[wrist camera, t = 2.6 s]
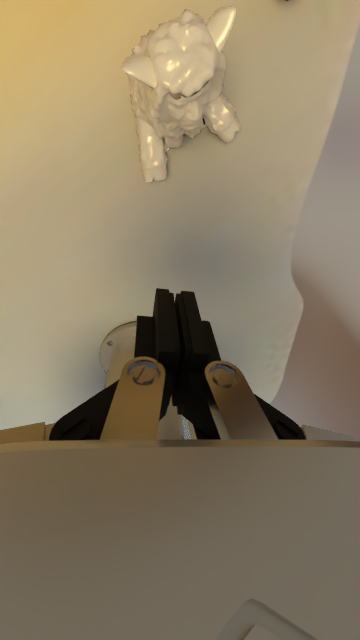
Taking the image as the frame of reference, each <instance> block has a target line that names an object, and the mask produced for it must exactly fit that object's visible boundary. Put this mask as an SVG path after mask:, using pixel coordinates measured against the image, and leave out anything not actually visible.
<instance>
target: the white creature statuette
mask: <svg viewBox="0 0 360 640" xmlns="http://www.w3.org/2000/svg"><path fill="white" fill-rule="evenodd" d="M235 15H236V8H234V7H232V6H230V7H221V8H220V9H218V10H216V11H215V12H214V13H213V15H212V16H211V17H210V19H209V21H208V22H207V24H206V25H205V23H204V21H203V19H202V18H201V17H200V16H199V15H198V14H195V13H193V12H192V11H191V10H186V9H185V10H184V12H183V13H182V14H181V16H180V17H179V18H177V19H174V20H171V21H169V22H166V23H163V24H159V26H158V28H157V29H156V31H153V30H150V31H149V32H148V35H147V36H145V35H144V36H141V39H140V44H139V45H138V46H135V48H134V49H132V53H133V55H132V56H130V57H128V58H126V59H125V61H124V62H123V63H122V66H121V69H122V70H123V71H124V72H125V73H126V74H127V75H129V76H128V77H129V81H130V97H131V104H132V109H133V112H134V113H135V118H136V132H137V135H138V137H139V141H140V145H139V151H140V154H139V156H140V162H141V166H142V171H143V176H144V180H145V182H152V180H153V179H154V180H155V181H160V180H164V179H166V177H167V170H166V163H167V161H168V158H167V157H166V155H165V154H166V152H167V151H168V150H169V149H170V148H179V147H180V146H181V144H182V142H183V134H185V135H187V136H188V137H190V138H193V137H194V136H195V135H197V134H199V133H200V131H201V130H202V129H203V128H204V127H206V126H207V127H208V128H210V131H211V132H212V133H213V134H217V135H218V136H219V137H220V138H221V140H223V141H224V142H226V143H228V142H230V141H231V140H232V139H233V138H234V136H235V132H238V131H239V129H240V124H239V121H238V119H237V118H236V116H235V113H236V109H235V107H234V106H233V105H232V104H231V103H229V102H228V100H227V99H226V98H225V97H224V96H223V95H222V94H221V92H222V89H223V86H224V75H225V72H226V63H227V59H226V56H225V54H224V53H221V52H220V51H221V50H222V48H223V46H224V44H225V42H226V40H227V38H228V36H229V34H230V32H231V29H232V26H233V24H234V21H235ZM203 118H204V120H205V124H204V125H203V120H202V119H203ZM163 138H164V140H163Z"/></svg>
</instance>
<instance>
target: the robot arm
mask: <svg viewBox="0 0 360 640" xmlns="http://www.w3.org/2000/svg"><path fill="white" fill-rule="evenodd" d="M99 358H100V363H101V366H102V367H103V369H104V371H105V372H106V373H107V379H106V384H105V389H104V390H102V391H101V392H99V393H98V394H96V395H95V396H93V397H92V398H90V399H89V400H87V401H86V402H84V403H83V404H81V405H80V406H78V407H77V408H75V409H74V410H72V411H71V412H69V413H68V414H66V415H65V416H63V417H62V418H61V419H60V420H58V421H57V422H56V423H54V424H48V425H45V422H42V423H36V424H31V425H26V426H20V427H15V428H10V429H4V430H0V640H360V439H358V438H355V437H353V436H349V435H344V434H340V433H336V432H332V431H328V430H323V429H319V428H315V427H311V426H306V425H302V427H299V426H298V425H297V424H296V423H295V422H294V421H293V420H291V419H290V418H288V417H287V416H286V415H284V414H283V413H281V412H280V411H278V410H277V409H275V408H274V407H272V406H271V405H270V404H268V403H267V402H265V401H264V400H262V399H261V398H259V397H258V396H256V395H255V394H254V393H253V392H252V390H251V388H250V386H249V385H248V383H247V381H246V379H245V377H244V375H243V374H242V372H241V371H240V370H239V369H238V368H237V367H236V366H235V365H233V364H231V363H229V362H225V361H221V358H220V355H219V352H218V348H217V345H216V342H215V338H214V335H213V331H212V328H211V325H210V322H208V321H201V317H200V314H199V310H198V306H197V302H196V298H195V294H194V292H188V291H181V294H176V298H175V303H174V295H173V293H169V290H168V289H158V288H157V289H156V295H155V302H154V310H153V317H148V316H137V322H134V323H129V324H125V325H123V326H120V327H118V328H116V329H115V330H113V331H112V332H111V333H109V334H108V335H107V336H106V338H105V339H104V341H103V343H102V345H101V348H100V353H99ZM182 415H183V416H184V417H185V418H186V419H187V420H189V422H188V426H189V431H190V434H191V438H192V440H184V431H183V422H182Z"/></svg>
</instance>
